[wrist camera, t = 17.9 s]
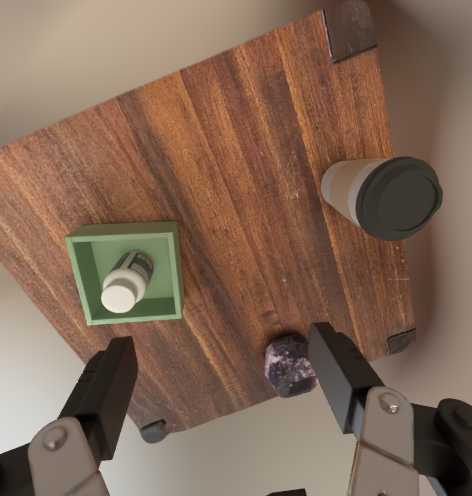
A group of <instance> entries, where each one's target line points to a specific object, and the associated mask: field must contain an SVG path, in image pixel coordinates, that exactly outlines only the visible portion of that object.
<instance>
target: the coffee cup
mask: <svg viewBox="0 0 472 496" xmlns="http://www.w3.org/2000/svg"><path fill="white" fill-rule="evenodd" d="M321 193H322V196H323V198H324V199H325V201H326V202H327V203H329V204H330V205H331V206H333V207H334V208H335V209H336V210H337V211H338V212H339V213H341V214H342V215H343V216H345V217H346V218H347V219H349V220H350V221H351V222H353V223H354V224H355V225H357V226H358V227H360V228H362V229H363V230H364V231H365V232H366V233H367V234H369V235H370V236H372V237H375V238H378V239H382V240H386V241H398V240H403V239H406V238H407V237H410V236H412V235H414V234H415V233H417V232H418V231H419V230H421V229H422V228H423V227H424V226H425V224H426V223H427V222H428V221H429V220H430V219H431V218H432V216H433V214H434V213H435V212H436V211H437V210H438V209H439V207H440V206H441V204H442V196H443V193H442V188H441V187H440V185H439V181H438V177H437V175H436V173H435V171H434V170H433V168H432V167H431V166H430V165H428V164H427V163H426V162H424V161H422V160H420V159H416V158H413V157H397V158H376V159H356V160H351V161H340V162H337V163H335V164H333V165H332V166H330V167H329V168H328V169H327V171H326V172H325V174H324V175H323V178H322V181H321Z"/></svg>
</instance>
